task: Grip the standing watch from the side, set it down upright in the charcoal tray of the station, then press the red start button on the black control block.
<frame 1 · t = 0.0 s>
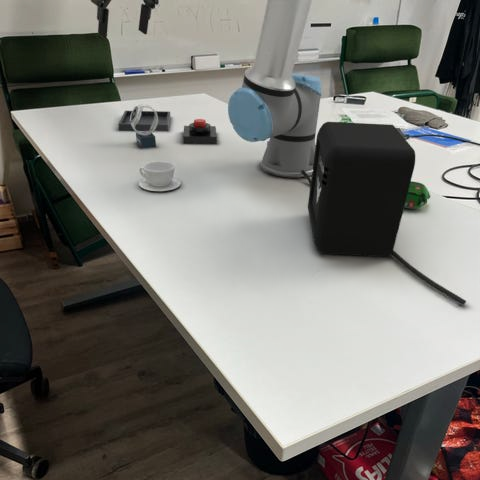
hand: (123, 33, 129), 28 cm above the table, tool tilted 20°, fingers open, 13 cm apart
watch: (146, 146, 141), on the table
teacup: (159, 186, 116), on the table
control block: (200, 138, 149), on the table
start button: (199, 123, 146), point 4 cm above the table, slide at 0.1 cm
tray: (145, 123, 160), on the table
air purifier: (344, 236, 98), on the table
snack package: (392, 203, 113), on the table
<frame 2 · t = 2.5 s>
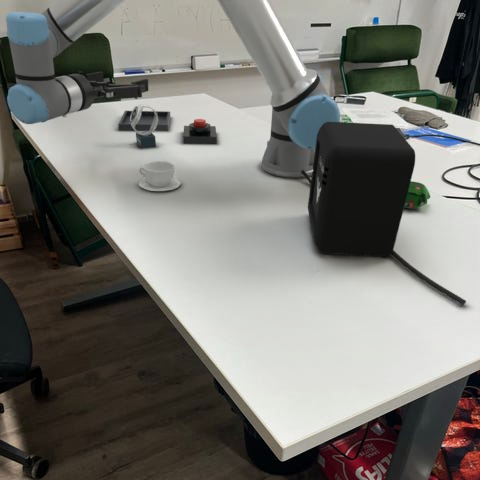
hand: (124, 81, 124), 19 cm above the table, tool horizontal, fingers open, 13 cm apart
nothing on the table moved.
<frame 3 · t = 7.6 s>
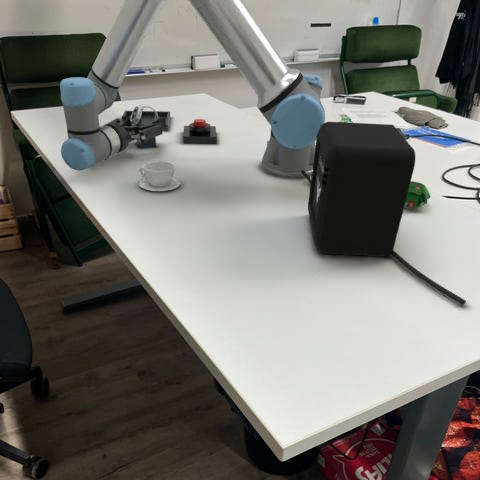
hand: (152, 120, 141), 6 cm above the table, tool horizontal, fingers closed on watch, 7 cm apart
watch: (146, 145, 141), on the table, touching gripper
everything else where it was.
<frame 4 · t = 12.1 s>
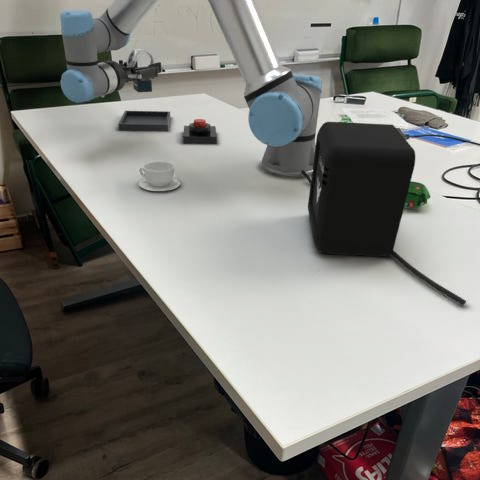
hand: (148, 66, 146), 18 cm above the table, tool horizontal, fingers closed on watch, 7 cm apart
watch: (142, 90, 146), point 12 cm above the table, touching gripper
everything else where it was.
when the fingers open (6 cm above the table, at t = 16.7 s): watch stays where it is, resting on tray.
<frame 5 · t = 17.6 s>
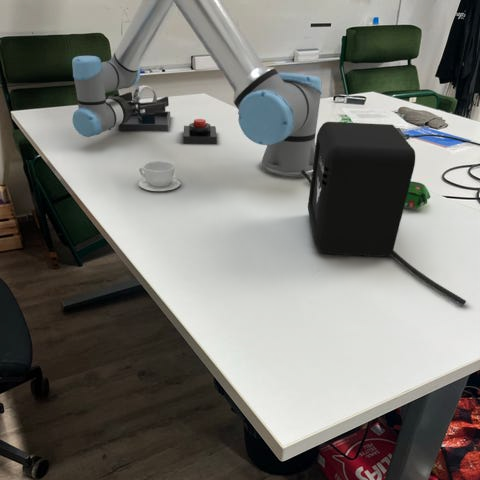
hand: (149, 98, 158), 7 cm above the table, tool horizontal, fingers open, 13 cm apart
watch: (146, 122, 160), resting on tray
everything else where it was.
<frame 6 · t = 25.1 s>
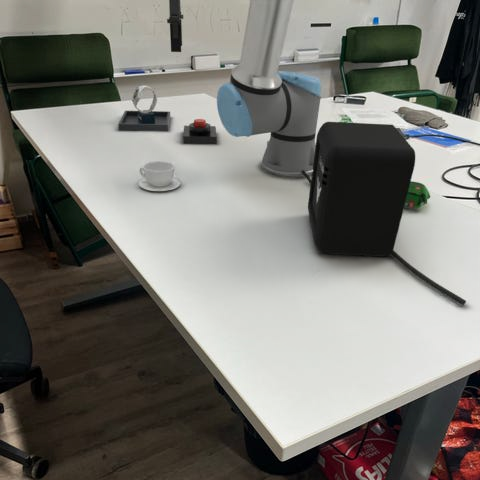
hand: (176, 48, 134), 24 cm above the table, tool pointing down, fingers open, 12 cm apart
nothing on the table moved.
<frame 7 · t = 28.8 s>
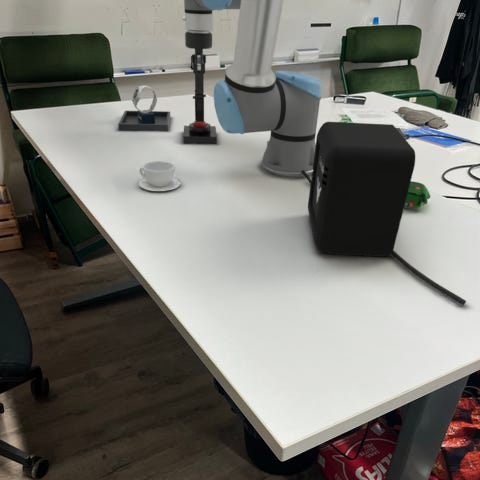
hand: (199, 120, 146), 5 cm above the table, tool pointing down, fingers closed
start button: (199, 124, 147), point 4 cm above the table, slide at -0.4 cm, touching gripper
everything else where it was.
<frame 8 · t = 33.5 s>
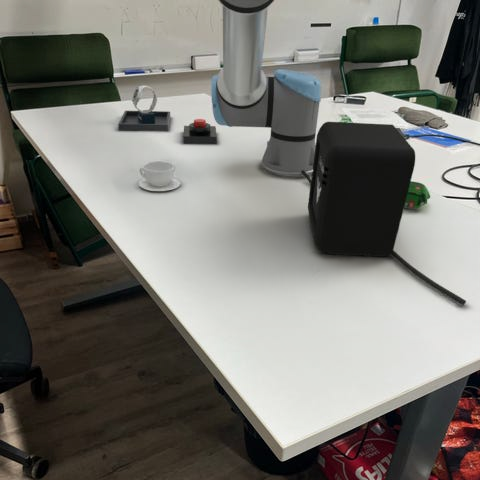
hand: (243, 55, 128), 24 cm above the table, tool pointing down, fingers closed
start button: (199, 123, 146), point 4 cm above the table, slide at 0.1 cm
everything else where it was.
at the end: watch inside the target area in the tray (0.2 cm from its centre), point 0.3 cm above the tray's base; watch tilted 0°; start button pushed in 1.3 cm at the most during the clip, back to where it started at the end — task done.
